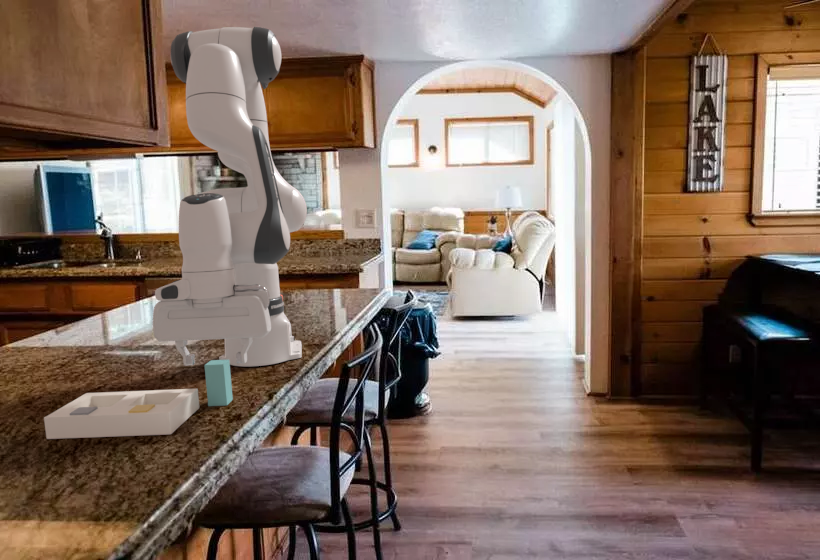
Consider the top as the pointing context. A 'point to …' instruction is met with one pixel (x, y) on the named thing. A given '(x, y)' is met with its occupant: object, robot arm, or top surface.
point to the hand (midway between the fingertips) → (215, 363)
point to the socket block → (122, 414)
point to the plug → (218, 382)
